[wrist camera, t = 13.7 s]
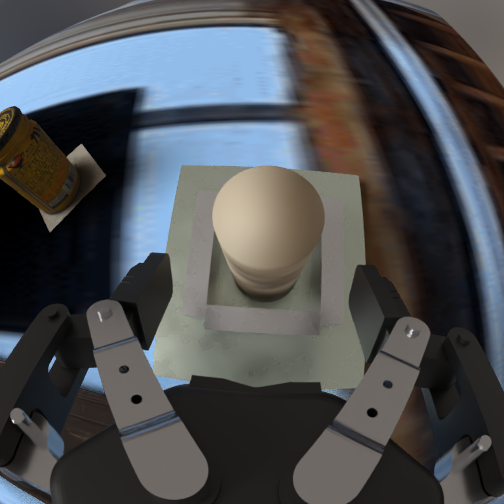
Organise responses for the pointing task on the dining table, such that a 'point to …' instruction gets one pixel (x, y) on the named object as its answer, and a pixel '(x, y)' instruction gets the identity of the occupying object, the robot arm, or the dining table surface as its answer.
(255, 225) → the birch plug
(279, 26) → the dining table surface
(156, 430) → the robot arm
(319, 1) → the dining table surface
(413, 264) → the dining table surface
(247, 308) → the socket
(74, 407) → the hardcover book
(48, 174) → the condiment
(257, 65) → the dining table surface
